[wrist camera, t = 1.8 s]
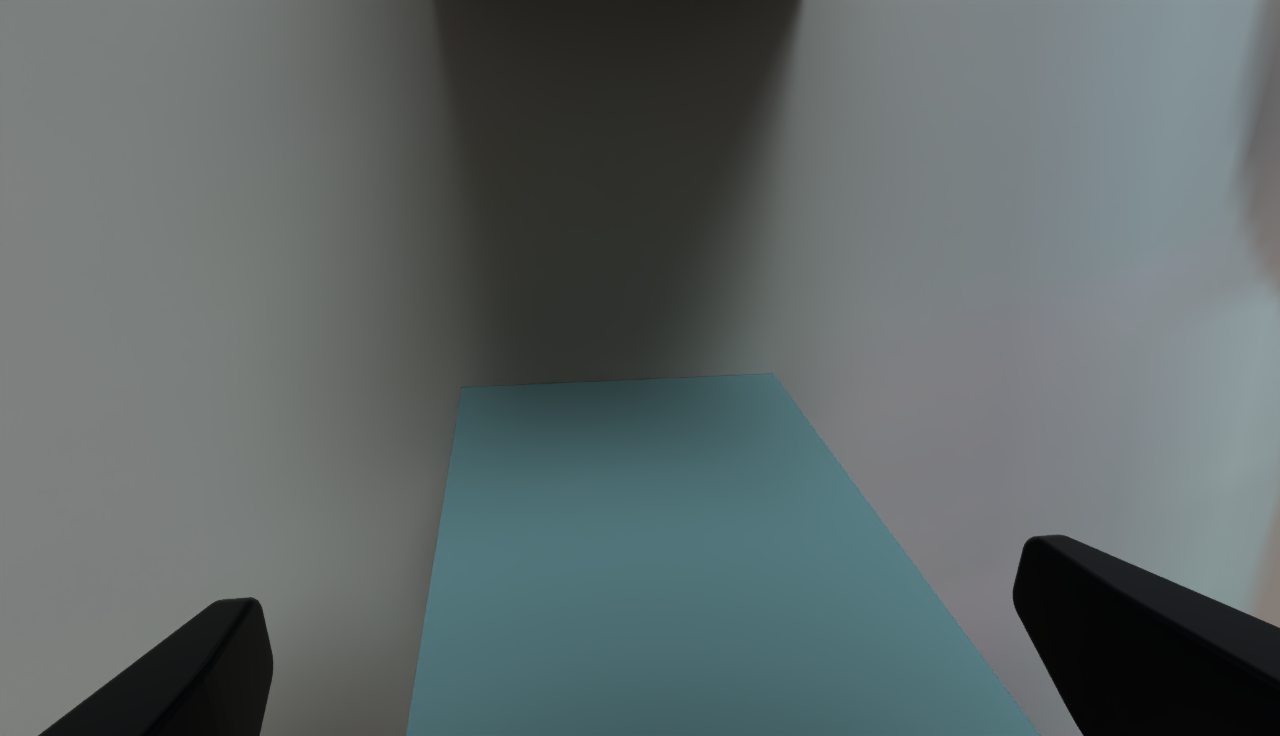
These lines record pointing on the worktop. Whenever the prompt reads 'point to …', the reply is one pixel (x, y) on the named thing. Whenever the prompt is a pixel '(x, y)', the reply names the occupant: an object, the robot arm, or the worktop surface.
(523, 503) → the teal domino
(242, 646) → the robot arm
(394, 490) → the worktop surface
